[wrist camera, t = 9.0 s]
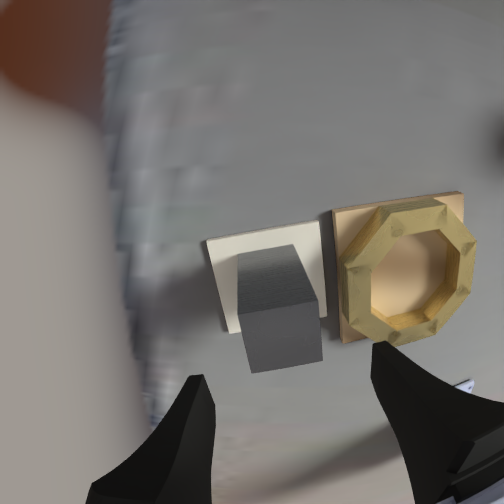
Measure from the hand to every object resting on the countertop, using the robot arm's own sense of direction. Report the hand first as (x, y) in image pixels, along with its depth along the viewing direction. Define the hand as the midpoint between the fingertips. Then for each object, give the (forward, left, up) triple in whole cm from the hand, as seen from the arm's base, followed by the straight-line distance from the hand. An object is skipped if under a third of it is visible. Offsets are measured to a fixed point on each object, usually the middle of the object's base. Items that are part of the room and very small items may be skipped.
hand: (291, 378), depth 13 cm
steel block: (+1, 0, -9) cm, 9 cm away
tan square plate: (-1, -9, -9) cm, 13 cm away
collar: (-1, -9, -9) cm, 13 cm away
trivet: (0, 0, -9) cm, 9 cm away
